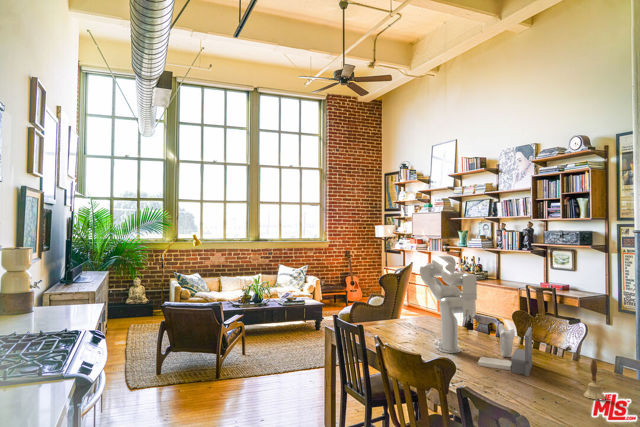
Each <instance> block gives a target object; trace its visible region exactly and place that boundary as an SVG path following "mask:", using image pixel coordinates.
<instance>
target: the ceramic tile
mask: <svg viewBox="0 0 640 427" xmlns="http://www.w3.org/2000/svg"><path fill="white" fill-rule="evenodd" d="M477 366H479V367H486V368H493V369H500V370H507V371H512V366H511V360H508V359H499V358H492V357H487V356H486V357H485V356H480V358H479V360H478V361H477Z"/></svg>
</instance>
